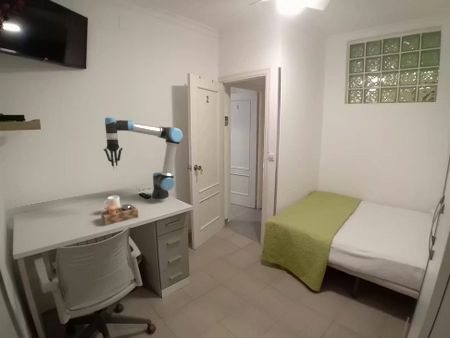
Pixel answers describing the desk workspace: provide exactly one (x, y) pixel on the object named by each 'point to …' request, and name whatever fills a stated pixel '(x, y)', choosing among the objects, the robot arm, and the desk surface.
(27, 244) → the desk surface
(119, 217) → the block
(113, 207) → the peach ball
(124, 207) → the ball grey
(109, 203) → the mug
